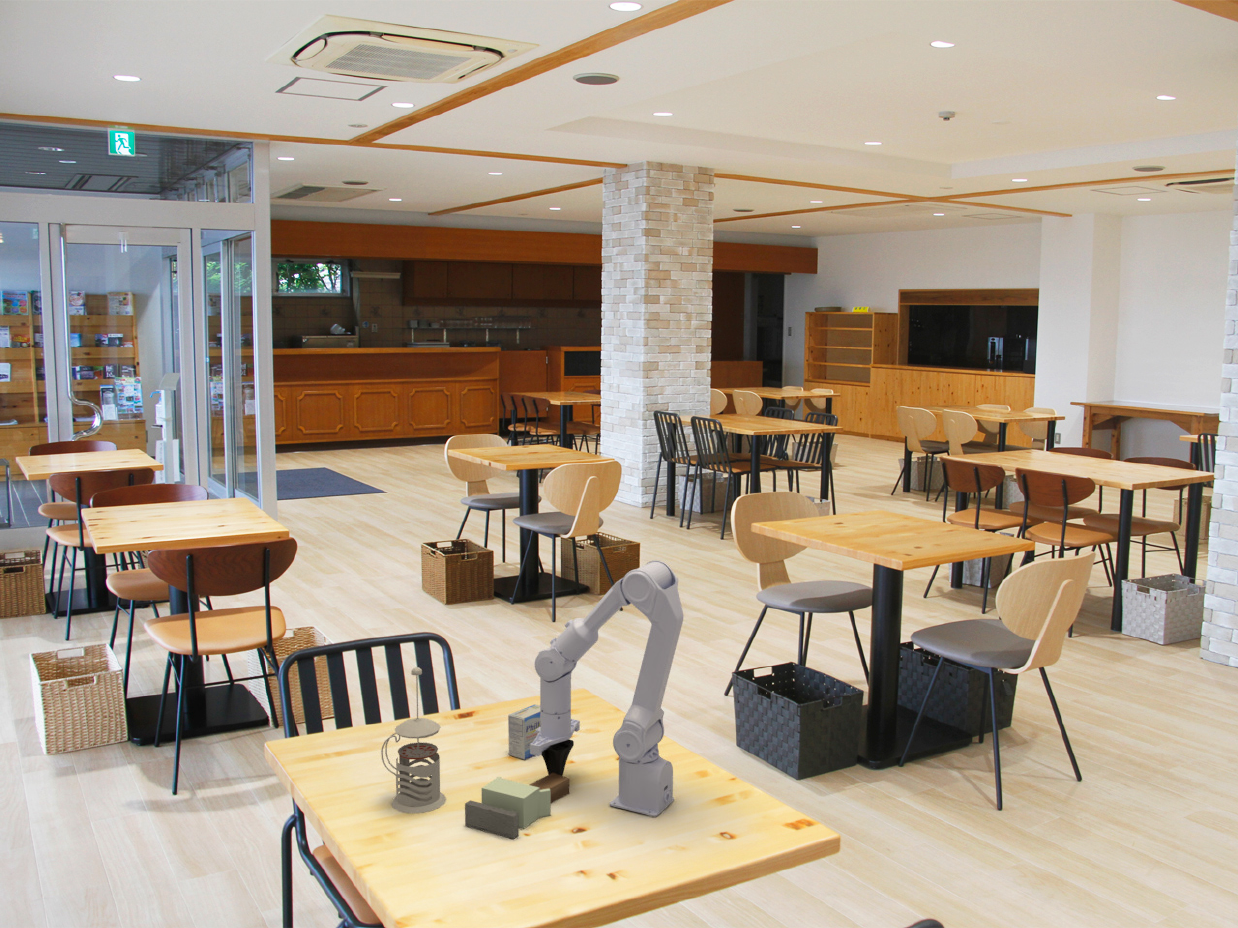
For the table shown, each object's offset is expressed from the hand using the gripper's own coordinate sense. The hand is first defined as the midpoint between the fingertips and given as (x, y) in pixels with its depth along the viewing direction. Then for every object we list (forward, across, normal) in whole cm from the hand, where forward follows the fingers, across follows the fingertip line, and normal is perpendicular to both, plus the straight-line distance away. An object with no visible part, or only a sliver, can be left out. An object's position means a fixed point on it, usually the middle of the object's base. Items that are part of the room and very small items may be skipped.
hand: (555, 778), depth 194 cm
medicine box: (+2, -11, -13) cm, 17 cm away
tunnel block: (+1, +14, 0) cm, 14 cm away
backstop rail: (+1, +21, 0) cm, 21 cm away
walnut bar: (+1, +8, +1) cm, 8 cm away
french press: (+1, +18, -19) cm, 26 cm away
